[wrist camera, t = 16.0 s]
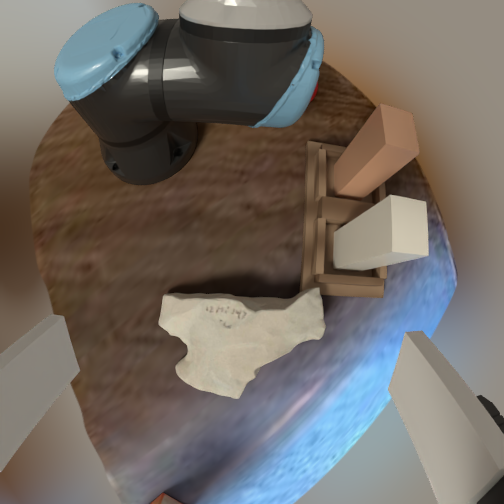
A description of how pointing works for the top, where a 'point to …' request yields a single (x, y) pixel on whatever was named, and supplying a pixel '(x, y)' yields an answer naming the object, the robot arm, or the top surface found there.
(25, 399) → the robot arm
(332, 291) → the rack
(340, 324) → the top surface
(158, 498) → the cracker box
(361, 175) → the salmon orange block
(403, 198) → the white rectangular block
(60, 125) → the top surface
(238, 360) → the rock
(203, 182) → the top surface
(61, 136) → the top surface
